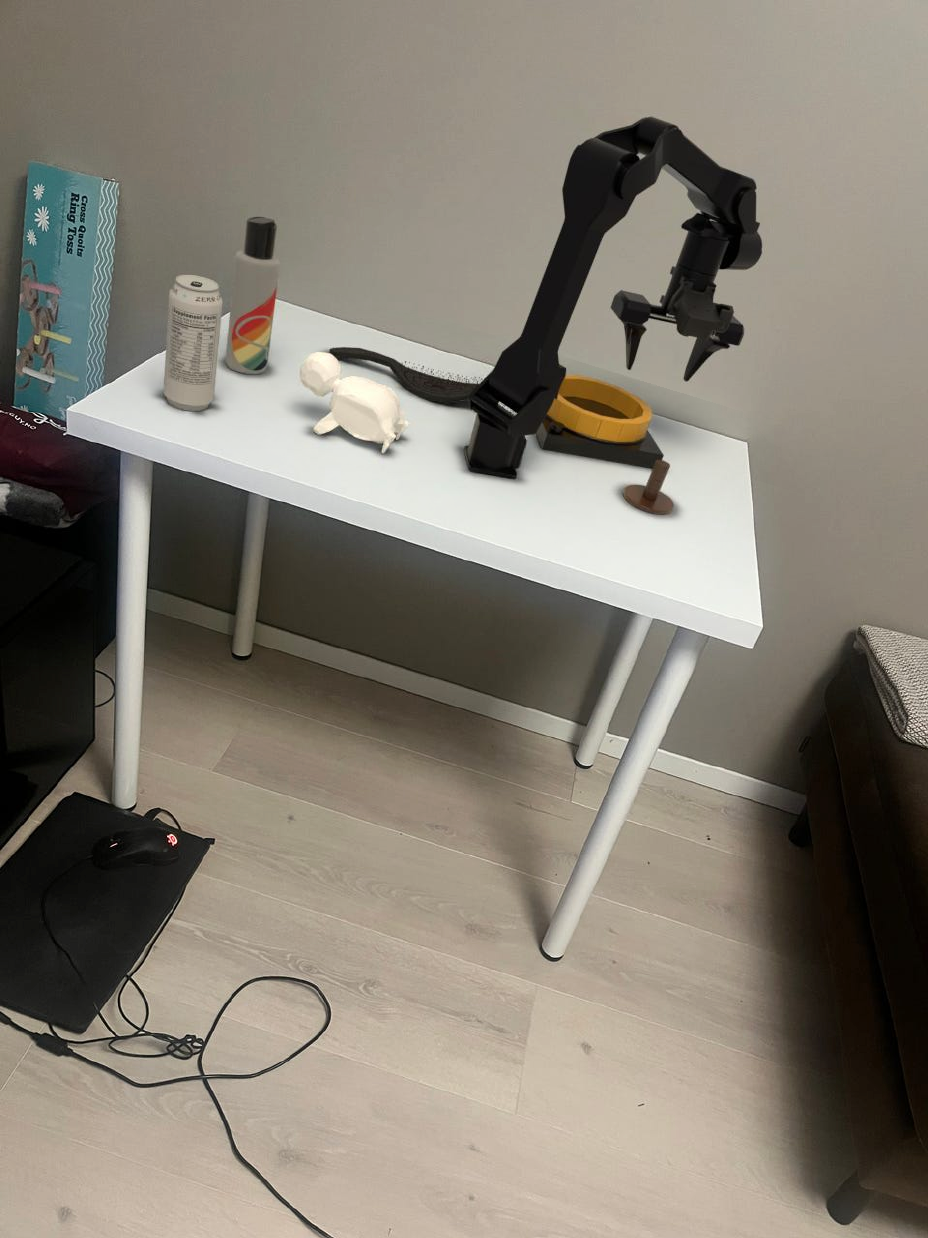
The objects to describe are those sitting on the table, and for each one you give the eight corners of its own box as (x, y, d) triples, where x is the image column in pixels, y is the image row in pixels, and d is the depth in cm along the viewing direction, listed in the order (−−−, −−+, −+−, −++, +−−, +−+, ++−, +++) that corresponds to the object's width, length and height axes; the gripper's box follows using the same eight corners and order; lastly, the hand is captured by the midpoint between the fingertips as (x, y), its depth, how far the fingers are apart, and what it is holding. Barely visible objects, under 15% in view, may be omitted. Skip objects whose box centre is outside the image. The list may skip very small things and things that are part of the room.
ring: (552, 430, 129) (558, 410, 127) (531, 385, 142) (537, 366, 140) (658, 449, 132) (665, 431, 131) (628, 404, 146) (635, 386, 144)
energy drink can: (217, 398, 117) (228, 281, 109) (207, 416, 112) (218, 295, 104) (169, 387, 116) (176, 269, 108) (157, 406, 111) (164, 283, 103)
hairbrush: (343, 329, 141) (494, 375, 137) (340, 352, 143) (489, 398, 139) (320, 342, 134) (478, 390, 130) (317, 366, 136) (473, 414, 132)
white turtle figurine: (389, 452, 123) (302, 380, 122) (423, 405, 119) (332, 330, 117) (366, 474, 116) (273, 398, 115) (401, 426, 112) (304, 346, 110)
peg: (630, 510, 120) (646, 471, 117) (617, 484, 126) (631, 446, 122) (678, 518, 122) (695, 479, 118) (663, 492, 127) (679, 455, 124)
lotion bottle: (262, 378, 125) (280, 228, 114) (220, 368, 125) (235, 216, 114) (270, 364, 130) (288, 218, 119) (230, 354, 129) (244, 207, 118)
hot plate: (542, 449, 129) (549, 427, 127) (521, 398, 144) (527, 378, 142) (658, 469, 134) (666, 448, 132) (626, 418, 148) (633, 398, 146)
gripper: (651, 270, 117) (611, 384, 126) (779, 300, 122) (732, 408, 130) (628, 247, 126) (593, 355, 135) (749, 275, 130) (707, 378, 139)
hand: (657, 374), depth 135 cm, fingers open, 9 cm apart
